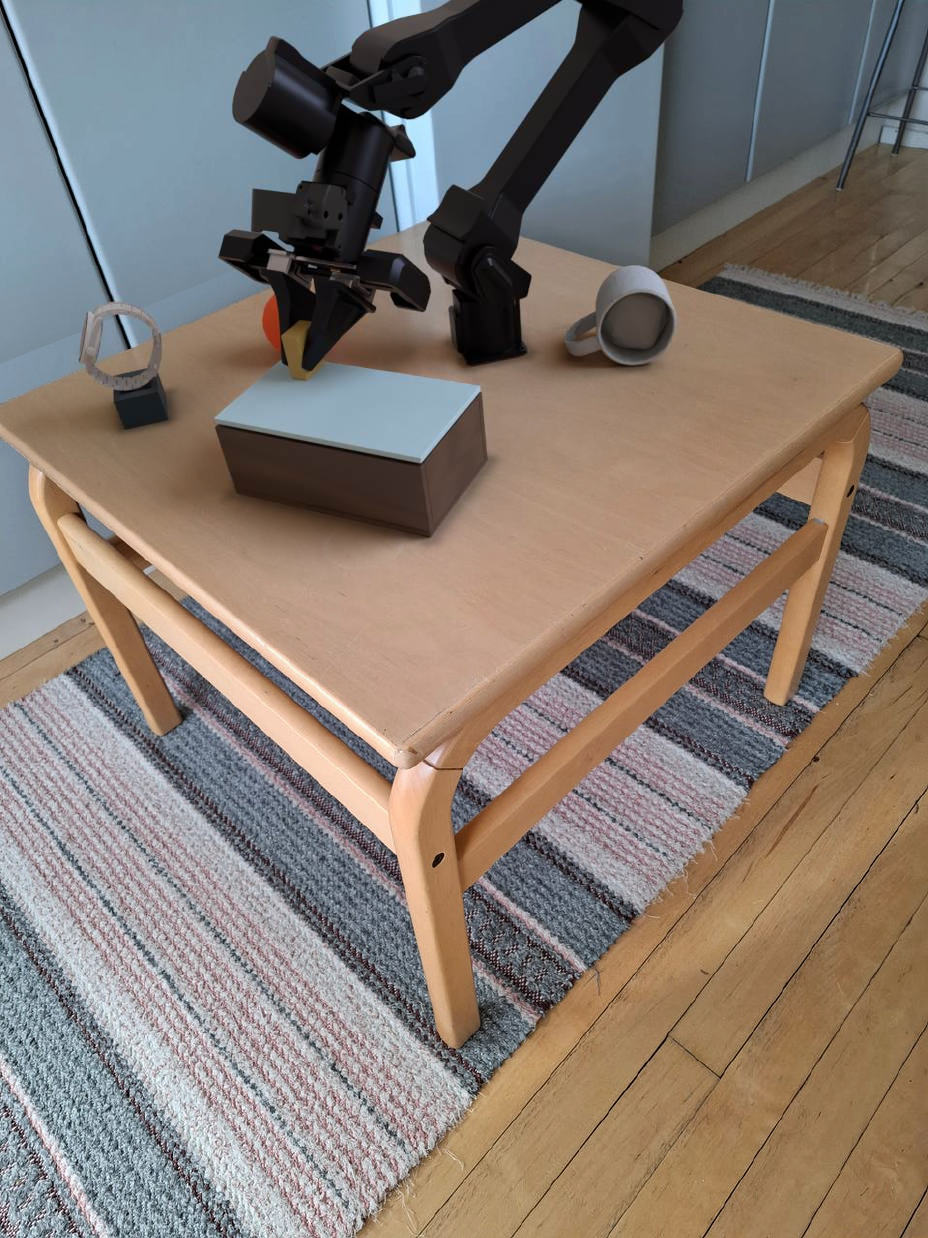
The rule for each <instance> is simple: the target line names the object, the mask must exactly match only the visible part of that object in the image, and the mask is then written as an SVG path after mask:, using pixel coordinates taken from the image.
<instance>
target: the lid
mask: <svg viewBox="0 0 928 1238" xmlns="http://www.w3.org/2000/svg"><path fill="white" fill-rule="evenodd" d="M310 325H311V321H304V320H299V321H298V322H297V323H296V324H295V325H293V326H292V327H291V328H290V329H289V330H287V331H286V332H285V333H284V334H283V335H282V336H281V337H282V341H283V345H284V349H285V354H286V358H287V362H288V366H289V367H287V366H286V365H284V364H283V363H282V360H281V359H280V360H279V361H277V362H276V363H275V364H274V365H272V366H271V368H269V369H268V370H267V371H266V372H265V373H263V375H262V376H260V377H259V378H258V379H257V380H255V382H253V384H251V385H250V386H249V387H248V388H246V389H245V390H244V391H243V392H242V393H240V394H239V396H237V397H236V398H235V399H234V400H233V401H231V402H230V403H229V404H228V405H227V406H226V407H224V409H222V410H221V411H220V412H219V413H218V414H217V415H216V416H214V417H213V421H214V424H216V425H217V424H222V425H227V426H232V427H237V428H242V429H247V430H252V431H258V432H263V433H268V434H273V435H278V436H283V437H288V438H293V439H298V440H304V441H309V442H314V443H319V444H324V445H329V446H334V447H339V448H345V449H350V450H355V451H360V452H365V453H370V454H375V455H380V456H386V457H391V458H396V459H401V460H406V461H411V462H416V463H422V462H423V460H424V459H425V458H426V457H427V456H428V454H429V453H430V452H431V451H432V450H433V448H434V447H435V446H436V445H437V443H438V442H439V441H440V440H441V439H442V437H443V436H444V435H445V434H446V432H447V431H448V430H449V429H450V428H451V426H452V425H453V424H454V423H455V421H456V420H457V419H458V418H459V417H460V415H461V414H462V413H463V412H464V410H465V409H466V408H467V407H468V406H469V404H470V403H471V402H472V401H473V400H474V398H475V397H476V396H477V395H478V393H479V392H482V390H481V385H478V384H471V383H466V382H458V381H451V380H446V379H440V378H439V379H438V378H433V377H425V376H421V375H413V374H407V373H401V372H394V371H388V370H381V369H375V368H368V367H361V366H356V365H350V364H349V365H348V364H344V363H336V362H330V361H325V360H324V358H323V359H322V360H321V361H320V362H319V363H318V364H317V366H316V367H315V368H314V369H313V370H312V371H310V372H309V371H306V370H304V369H302V367H301V364H302V357H303V351H304V347H305V343H306V339H307V336H308V332H309V328H310Z"/></svg>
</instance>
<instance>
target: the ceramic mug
mask: <svg viewBox="0 0 928 1238" xmlns="http://www.w3.org/2000/svg"><path fill="white" fill-rule="evenodd" d="M677 319H678V318H677V313H676V309H675V307H674V304H673V302H672V299H671V296H670V293H669V291H668V289H667V286H666V284H665V282H664V281H663V279H662V278H661V276H659V275H658V274H657V273H656V272H655V271H654V270H652V269H650V268H648V267H646V266H644V265H637V264H631V265H625V266H622V267H620V268H619V267H618V268H617V269H616V270H614V271H613V272H611V273H610V274H609V275H608V276H606V278H605V279H604V280H603V282H602V283H601V285H600V287H599V289H598V291H597V295H596V297H595V310H594V311H593V312H590V313H589V314H587V315H585V316H583V317H581V318H580V319H578V320H577V321H575V322H574V323H573V324H572V325H571V326H570V327H569V328H568V330H566V332H565V334H564V337H563V342H564V345H565V347H566V349H567V351H568V353H569V354H570V355H571V356H575V357H582V356H583V357H584V356H587V355H590V354H593V353H596V352H598V351H602V353H603V354H604V355H605V356H606V357H607V358H609V360H611V361H613V362H615V363H617V364H620V365H625V366H641V365H646V364H648V363H651V362H652V361H654V360H656V359H658V358H659V357H661V356H662V355H663V354H664V353H665V352H666V351H667V349H668V348H669V347H670V346H671V344H672V342H673V340H674V338H675V335H676V332H677V325H678V324H677V323H678V321H677ZM594 328H595V332H596V333H595V334H593V335H592V336H590V337H587V338H584V339H581V340H578V339H579V338H581V336H582V335H584V334H586V333H588V332H589V331H591V330H592V329H594Z"/></svg>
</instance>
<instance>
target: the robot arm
mask: <svg viewBox="0 0 928 1238" xmlns="http://www.w3.org/2000/svg"><path fill="white" fill-rule="evenodd" d="M562 1H563V0H448V1H447V2H445V3H443V4H441V5H440V6H438V7H436V8H433V9H431V10H428V11H424V12H421V13H415V14H410V15H406V16H401V17H398V18H395V19H392V20H390V21H386V22H385V23H381V24H380V25H379V24H378V25H377V26H374V27H371V28H368V29H366V30H365V31H363V32H362V33H361V34H360V35H359V36H358V37H357V38H356V39H355V40H354V42H353V43H352V45H351V51H349V52H347V53H345V54H344V55H342V56H340V57H338V58H336V59H334V60H333V61H330V62H329V63H327V64H325V65H323V66H321V67H318V66H317V65H315V64H313V63H312V62H311V61H309V59H307V58H306V57H304V56H303V55H302V54H301V53H300V51H298V49H297V48H296V47H295V46H293V44H291V43H290V42H288V41H287V40H286V39H284V38H281V37H279V36H276V35H271V36H269V39H268V41H267V44H266V46H265V49H263V50H262V51H260V52H259V53H258V54H256V56H255V57H254V58H253V59H252V60H251V62H249V65H248V67H247V68H246V69H245V70H243V71H242V72H241V73H240V76H239V78H238V80H237V84H236V86H235V89H234V93H233V96H232V97H233V98H232V103H231V112H232V118H233V120H234V121H235V122H236V123H237V124H239V125H240V126H242V127H244V128H246V129H247V130H249V131H250V132H251V133H254V134H255V135H257V136H259V137H260V138H262V139H263V140H265V141H267V143H269V144H271V145H273V146H275V147H276V148H277V149H280V151H282V152H285V154H288V155H289V156H291V157H292V158H294V159H296V160H303V159H305V158H307V157H309V156H310V155H311V154H313V155H315V156H318V159H317V162H316V165H315V170H314V174H313V176H312V180H311V181H310V180H301V181H300V183H298V184H297V186H296V189H295V192H286V191H278V190H270V189H262V188H252V190H251V217H250V231H249V230H242V229H237V228H236V229H235V228H233V229H232V230H230V231H228V232H226V233H225V234H224V235H223V237H222V241H221V245H220V249H219V252H218V256H217V258H218V259H219V260H221V261H223V262H224V263H226V264H227V265H229V266H230V267H232V268H234V269H235V270H237V271H238V272H240V273H241V274H242V275H244V276H246V277H248V278H249V279H251V280H253V281H255V282H256V283H260V284H262V285H267V286H270V287H271V289H272V291H273V293H274V294H275V296H276V301H277V307H278V315H279V329H280V344H281V352H280V357H281V359H280V360H282V363H283V364H284V365H286V366H287V367H289V366H288V362H287V358H286V354H285V349H284V345H283V341H282V337H281V336H282V335H283V334H284V333H285V332H286V331H287V330H289V329H290V328H291V327H292V326H293V325H295V324H296V323H297V322H298V321H299V320H304V321H311V325H310V328H309V332H308V336H307V339H306V343H305V347H304V351H303V357H302V364H301V367H302V369H304V370H306V371H309V372H310V371H312V370H313V369H314V368H315V367H316V366H317V364H318V363H319V362H320V361H321V360H322V359H323V360H324V358H325V357H326V355H328V353H329V352H330V351H331V350H332V349H333V348H334V346H336V344H337V343H338V342H339V341H340V340H341V338H343V337H344V335H346V334H347V333H348V331H350V330H351V329H352V328H353V327H354V326H355V325H356V324H358V322H359V321H361V319H363V318H364V316H366V314H375V313H376V311H377V308H378V307H377V306H376V305H374V304H373V302H374V299H375V295H376V292H377V291H382V292H383V291H384V292H389V297H390V299H391V302H392V303H393V305H394V306H395V307H396V308H398V309H403V310H407V311H408V310H409V311H414V312H419V313H425V312H427V307H428V304H429V302H430V301H429V300H430V297H431V293H432V288H431V282H430V279H429V276H428V275H427V274H426V273H425V272H424V271H423V270H421V269H420V268H419V267H418V266H417V265H416V264H414V263H413V262H412V261H411V260H410V259H409V258H408V257H406V255H404V254H403V253H400V252H399V253H398V252H391V251H385V250H378V249H372V248H367V249H366V247H367V244H368V240H369V238H370V233H371V229H373V230H381V228H382V224H383V222H384V217H383V216H382V215H381V214H380V213H378V211H377V209H378V206H379V201H380V198H381V194H382V191H383V187H384V184H385V180H386V176H387V173H388V171H389V170H388V169H389V166H390V163H395V162H400V161H401V162H402V161H406V160H411V159H415V158H416V156H417V151H416V149H415V146H414V144H413V142H412V141H411V139H410V137H409V136H408V133H407V129H406V126H405V124H403V123H399V124H396V125H391V126H390V125H389V124H388V123H386V122H385V121H383V120H382V119H380V118H379V117H377V116H376V115H375V114H373V113H372V112H377V111H379V112H380V111H383V112H386V113H388V114H390V115H393V116H395V117H397V118H399V119H403V120H407V121H408V120H409V121H411V120H416V119H417V118H420V117H422V116H424V115H425V114H427V113H428V112H429V111H430V110H431V109H432V108H433V107H435V105H436V104H437V103H438V102H440V100H442V99H443V97H445V96H446V95H447V94H448V93H449V92H450V91H451V90H452V89H453V88H454V86H455V85H456V82H457V81H458V79H459V77H460V76H461V74H462V72H463V70H464V69H465V68H466V67H467V66H468V65H469V64H470V63H472V61H473V60H474V59H475V58H477V57H479V56H480V55H481V54H483V53H484V52H486V51H487V50H489V49H490V48H492V47H494V46H495V45H497V44H498V43H500V42H501V41H503V40H504V39H506V38H508V37H509V36H511V35H512V34H513V33H515V32H516V31H518V30H520V29H521V28H522V27H524V26H525V25H527V24H528V23H531V21H533V20H535V19H536V18H538V17H540V16H541V15H542V14H545V12H547V11H549V10H551V8H553V7H555V6H556V5H558V4H559V3H561V2H562ZM573 1H574V2H576V3H577V4H579V5H581V6H580V9H579V12H578V17H577V25H576V31H575V38H574V42H573V44H572V46H571V48H570V50H569V51H568V52H567V54H566V56H565V57H564V59H563V60H562V62H561V63H560V64H559V66H558V68H556V71H555V72H554V74H553V75H552V77H551V78H550V79H549V80H548V82H547V83H546V85H545V87H544V88H543V90H542V91H541V93H540V94H539V95H538V97H537V99H536V100H535V102H534V103H533V104H532V106H531V107H530V109H529V110H528V112H527V113H526V115H525V116H524V118H523V119H522V120H521V122H520V124H519V125H518V126H517V128H516V130H515V131H514V132H513V134H512V135H511V136H510V139H509V140H508V141H507V143H505V144H506V145H505V146H504V148H503V149H502V150H501V151H500V153H499V155H498V156H497V158H496V159H495V160H494V162H493V164H492V165H491V166H490V168H489V170H487V172H486V174H485V175H484V177H482V179H481V180H480V181H479V182H478V183H476V184H475V185H474V186H472V187H470V188H468V189H465V188H463V187H462V186H460V185H457V184H455V183H454V184H451V185H450V187H449V188H447V190H446V191H445V194H444V195H443V197H442V199H441V202H440V204H439V205H438V206H437V208H435V210H434V211H433V212H432V213H431V214H430V215H428V216H426V222H428V223H430V224H428V226H427V228H426V230H425V233H424V235H423V238H422V244H423V254H424V258H425V261H426V264H427V265H428V266H429V268H430V269H432V270H433V271H435V272H436V273H438V274H439V275H440V276H441V279H442V281H443V282H444V284H446V285H448V286H451V287H453V289H452V290H451V296H452V305H449V306H448V319H449V329H450V337H451V343H452V346H453V347H454V350H455V351H456V352H457V354H459V355H461V356H462V359H463V361H464V363H465V364H466V365H467V366H476V365H481V364H485V363H490V362H494V361H498V360H503V359H509V358H514V357H518V356H522V355H526V354H527V353H528V346H527V345H526V344H525V343H524V341H523V335H522V315H521V314H522V313H521V300H523V299H526V298H527V297H528V295H529V291H530V287H531V283H532V278H533V276H532V274H531V273H529V272H528V271H527V270H525V268H523V267H522V266H521V265H519V264H518V263H517V262H515V261H514V260H513V257H514V255H515V253H516V252H517V249H518V247H519V241H520V234H521V227H522V222H523V217H524V214H525V212H526V210H527V209H528V208H529V206H530V204H531V203H532V202H533V200H534V199H535V197H536V195H538V193H539V191H540V190H541V189H542V187H543V186H544V184H545V183H546V182H547V180H548V178H549V177H550V175H551V174H552V173H553V171H554V170H555V169H556V167H557V165H558V164H559V163H560V162H561V160H562V158H563V157H564V155H565V154H566V153H567V151H568V150H569V149H570V147H571V146H572V144H573V142H574V141H575V139H576V138H578V136H579V134H580V133H581V131H582V129H584V127H585V125H586V124H587V122H588V121H589V120H590V118H591V116H592V115H593V114H594V112H595V111H596V109H597V108H598V106H599V105H600V103H601V102H602V100H603V99H604V98H605V96H606V95H607V93H608V92H609V91H610V89H611V88H612V86H613V84H614V83H615V82H616V81H617V80H618V79H619V78H620V77H623V75H625V74H627V73H628V72H630V71H631V70H633V69H634V68H636V67H637V66H640V65H641V64H643V63H644V62H646V61H647V60H649V59H650V58H651V57H652V56H653V55H654V54H655V53H656V52H657V51H658V50H659V48H660V47H662V45H663V44H664V43H665V42H666V41H667V40H668V39H669V37H670V36H671V35H672V34H673V33H674V32H675V31H676V29H677V27H678V26H679V24H680V22H681V20H682V17H683V14H684V12H685V8H684V7H685V6H684V0H573ZM343 101H345V102H347V103H350V104H351V105H354V106H356V107H359V108H361V109H364V111H359V112H356V111H354V110H353V109H351V108H350V107H348V106H347V105H346V104H344V103H343ZM263 231H264V232H269V233H270V232H271V233H277V235H278V238H277V239H278V240H280V241H281V242H282V243H283V244H285V245H287V246H291V247H292V248H293V250H287V249H286V248H284V247H283V246H281V245H280V243H278V242H276V241H275V240H273V239H272V238H270V237H269V236H267V235H266V234H265V233H264V232H263ZM311 266H312V267H311ZM312 280H313V283H312ZM312 284H313V287H314V288H313V289H314V291H312V290H311V288H312ZM274 294H273V295H274Z"/></svg>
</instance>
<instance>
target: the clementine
mask: <svg viewBox="0 0 928 1238" xmlns="http://www.w3.org/2000/svg"><path fill="white" fill-rule="evenodd" d="M261 324H262V331H263V333H264V335H265V337H266V340H267V341H268V342H269V344H270V345H271V347H273V348H274V349H275V350H277V351H278V352H280V353H281V344H280V329H279V315H278V307H277V301H276V296H275V294H272V295H271V297H270V298H269V299H268V300H267V302H266V304H265V306H264V307H263V310H262V317H261Z"/></svg>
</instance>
